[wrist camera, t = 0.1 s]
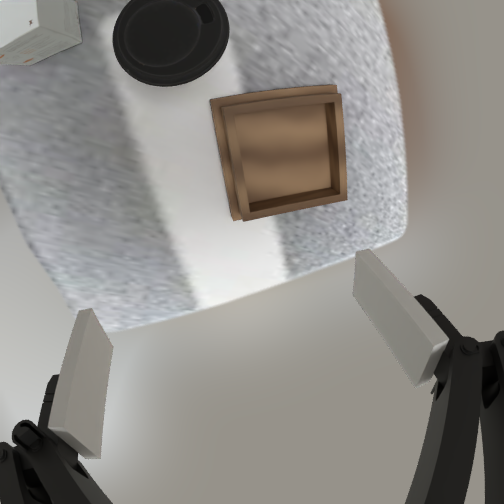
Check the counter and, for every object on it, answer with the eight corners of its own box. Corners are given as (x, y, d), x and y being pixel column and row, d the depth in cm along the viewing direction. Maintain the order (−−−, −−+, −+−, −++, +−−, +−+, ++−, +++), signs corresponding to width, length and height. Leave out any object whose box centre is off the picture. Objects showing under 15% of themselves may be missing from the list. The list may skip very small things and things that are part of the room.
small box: (78, 1, 24) (37, -27, 13) (83, 43, 27) (40, 26, 16) (24, 26, 23) (-30, 13, 12) (29, 67, 26) (-27, 66, 15)
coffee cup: (231, 44, 32) (258, 18, 19) (182, 102, 34) (179, 109, 21) (170, 4, 27) (162, -42, 15) (121, 63, 30) (83, 49, 17)
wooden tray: (209, 99, 35) (212, 100, 31) (331, 84, 36) (347, 85, 32) (231, 216, 43) (236, 230, 39) (339, 194, 44) (353, 205, 41)
